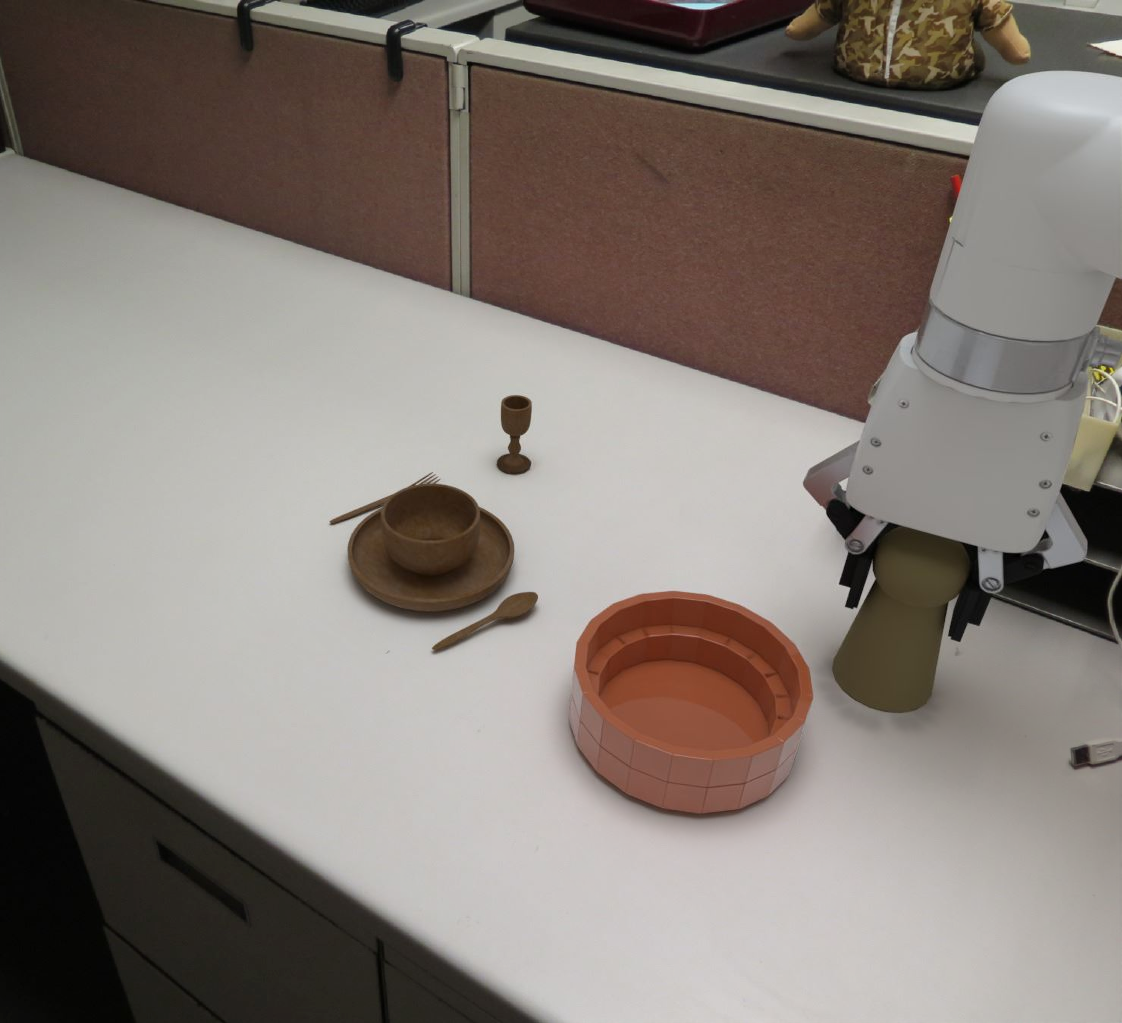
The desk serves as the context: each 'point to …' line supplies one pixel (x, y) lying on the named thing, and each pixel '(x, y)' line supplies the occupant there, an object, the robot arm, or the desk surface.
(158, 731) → the desk surface
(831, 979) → the desk surface
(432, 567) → the place setting
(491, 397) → the desk surface
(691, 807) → the bowl
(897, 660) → the cork
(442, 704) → the desk surface
